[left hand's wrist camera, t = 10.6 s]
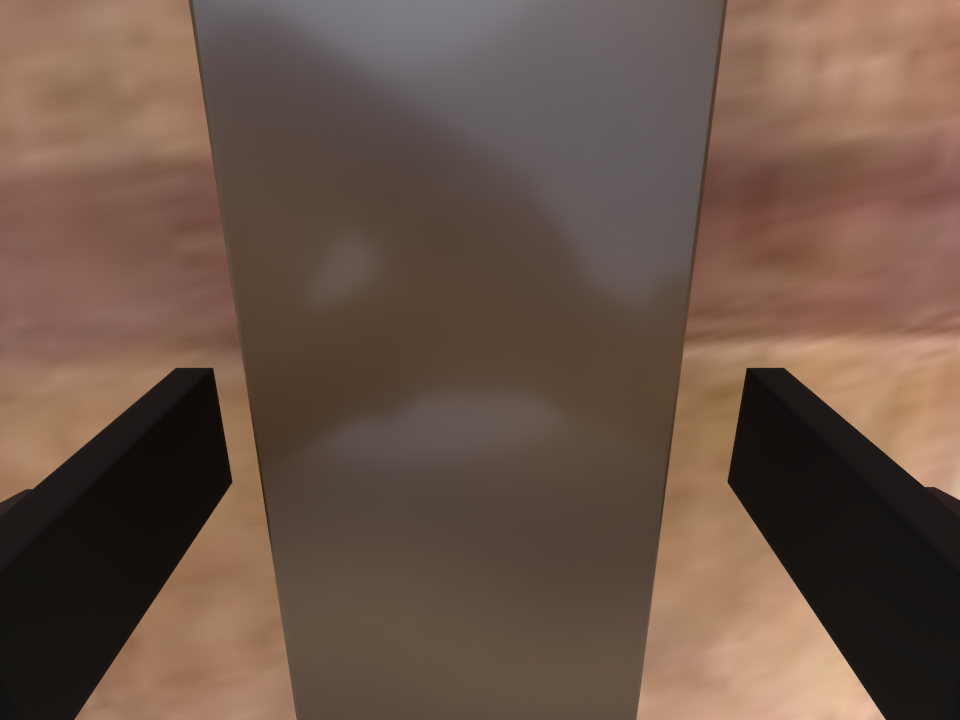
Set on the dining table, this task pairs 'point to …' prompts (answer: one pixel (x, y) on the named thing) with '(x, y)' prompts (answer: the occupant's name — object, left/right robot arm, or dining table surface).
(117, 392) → the dining table surface
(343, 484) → the post
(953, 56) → the dining table surface
